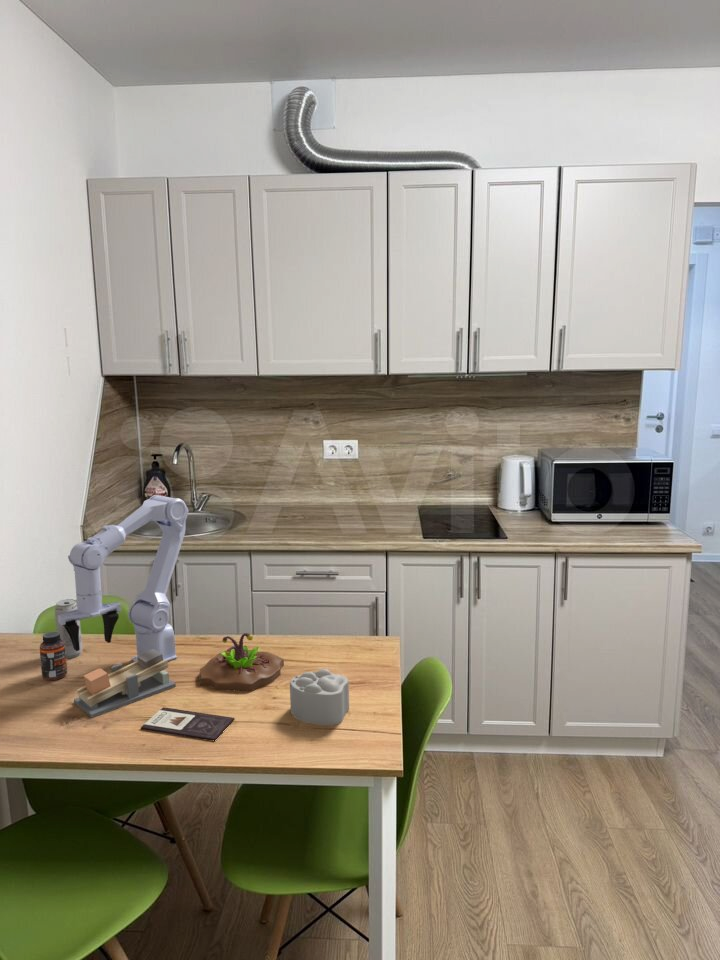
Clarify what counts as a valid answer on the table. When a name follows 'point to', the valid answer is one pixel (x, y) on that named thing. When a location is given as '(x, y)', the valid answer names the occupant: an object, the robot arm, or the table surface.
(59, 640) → the supplement bottle
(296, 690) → the lumpy-topped squat cylinder
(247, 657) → the plant
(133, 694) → the stand
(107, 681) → the block
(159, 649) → the robot arm
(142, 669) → the beam
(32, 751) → the table surface
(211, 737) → the chocolate bar
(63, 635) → the energy drink can
